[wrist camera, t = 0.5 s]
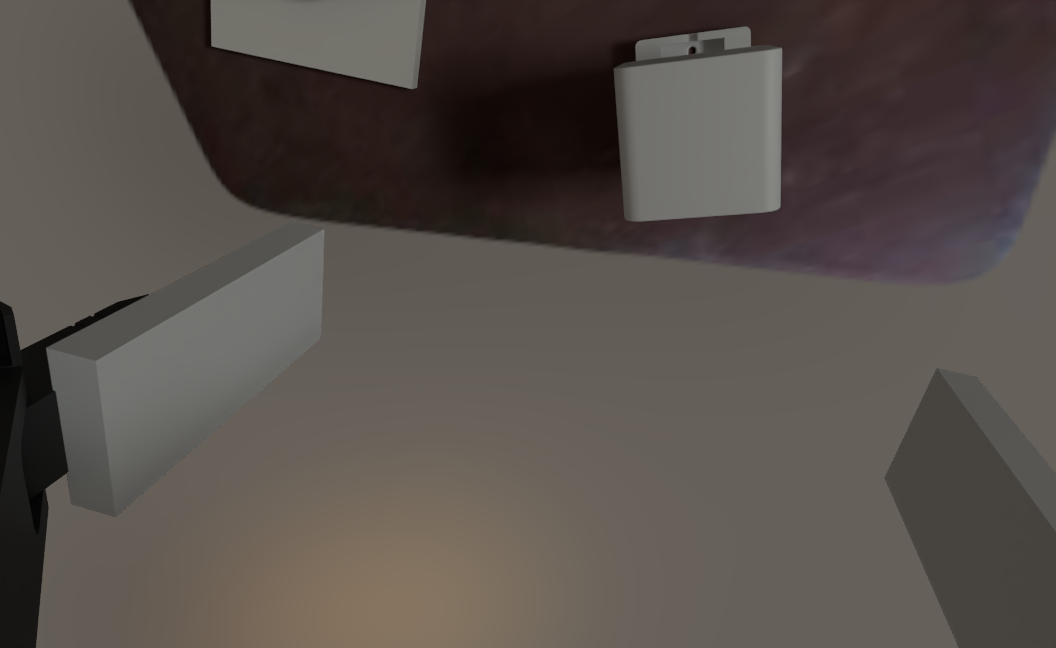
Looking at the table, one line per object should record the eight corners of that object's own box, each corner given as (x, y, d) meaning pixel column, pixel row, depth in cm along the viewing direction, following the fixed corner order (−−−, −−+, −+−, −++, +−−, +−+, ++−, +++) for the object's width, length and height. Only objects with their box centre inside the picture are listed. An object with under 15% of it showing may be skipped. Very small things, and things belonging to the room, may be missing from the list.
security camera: (637, 178, 38) (623, 224, 29) (627, 42, 35) (609, 45, 26) (757, 168, 36) (782, 212, 27) (757, 24, 34) (785, 22, 25)
